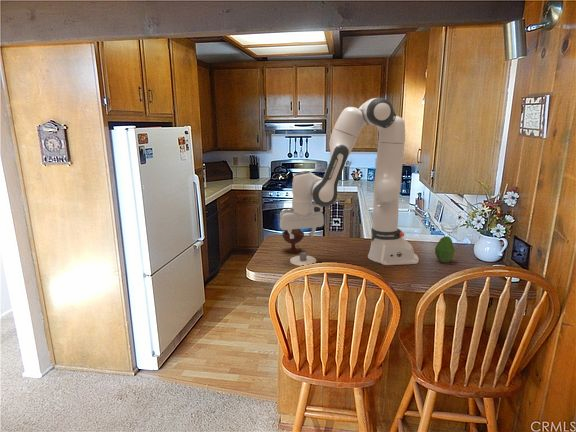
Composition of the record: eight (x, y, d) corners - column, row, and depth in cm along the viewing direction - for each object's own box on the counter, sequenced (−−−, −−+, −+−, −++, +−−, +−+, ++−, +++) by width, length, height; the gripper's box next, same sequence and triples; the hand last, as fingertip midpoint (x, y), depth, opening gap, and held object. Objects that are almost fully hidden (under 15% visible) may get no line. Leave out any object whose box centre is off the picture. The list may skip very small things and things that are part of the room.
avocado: (453, 260, 167) (455, 234, 164) (453, 266, 160) (455, 239, 157) (434, 257, 171) (436, 233, 168) (433, 263, 164) (435, 238, 161)
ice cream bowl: (302, 255, 177) (302, 225, 173) (280, 254, 179) (279, 224, 175) (306, 248, 187) (305, 219, 183) (284, 247, 189) (283, 219, 186)
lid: (316, 257, 175) (316, 249, 174) (315, 267, 164) (315, 258, 163) (291, 256, 177) (291, 248, 176) (288, 266, 165) (288, 257, 164)
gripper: (281, 211, 158) (282, 241, 161) (325, 207, 164) (324, 237, 168) (277, 207, 164) (277, 237, 167) (320, 204, 170) (319, 233, 174)
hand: (301, 237), depth 168 cm, fingers open, 8 cm apart
